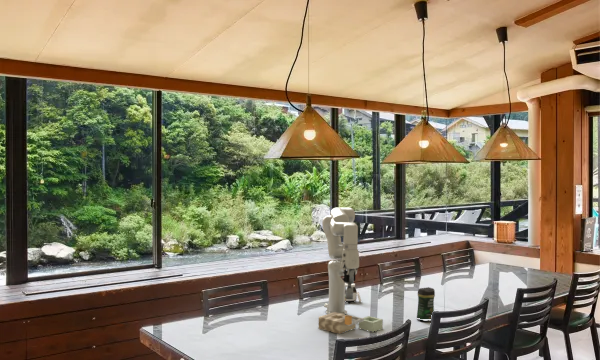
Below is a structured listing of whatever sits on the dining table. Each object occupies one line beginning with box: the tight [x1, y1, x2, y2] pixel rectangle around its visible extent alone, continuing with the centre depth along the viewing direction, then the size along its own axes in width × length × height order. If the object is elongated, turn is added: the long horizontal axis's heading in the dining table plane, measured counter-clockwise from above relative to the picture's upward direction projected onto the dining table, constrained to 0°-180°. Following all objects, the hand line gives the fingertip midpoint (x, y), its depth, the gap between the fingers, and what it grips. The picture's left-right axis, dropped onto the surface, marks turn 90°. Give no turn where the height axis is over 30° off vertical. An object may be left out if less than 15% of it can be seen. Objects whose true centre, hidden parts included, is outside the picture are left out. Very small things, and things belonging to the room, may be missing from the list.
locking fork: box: [342, 314, 364, 326], centre depth 249 cm, size 10×14×5 cm
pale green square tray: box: [358, 315, 384, 333], centre depth 259 cm, size 9×9×5 cm
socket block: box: [318, 312, 356, 335], centre depth 259 cm, size 14×14×6 cm
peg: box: [344, 268, 355, 299], centre depth 259 cm, size 4×4×16 cm
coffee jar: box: [416, 286, 436, 319], centre depth 278 cm, size 10×8×19 cm
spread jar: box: [344, 282, 362, 303], centre depth 318 cm, size 12×11×12 cm
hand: (349, 280), depth 259 cm, fingers closed on peg, 4 cm apart
